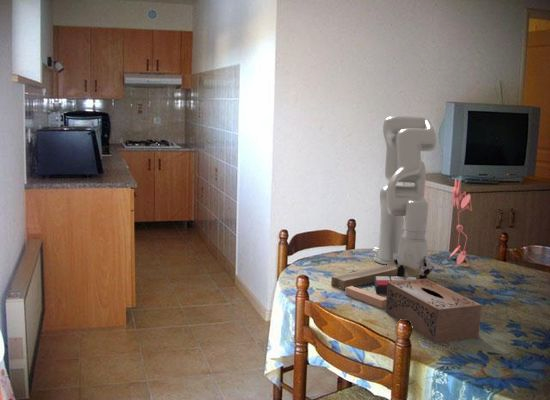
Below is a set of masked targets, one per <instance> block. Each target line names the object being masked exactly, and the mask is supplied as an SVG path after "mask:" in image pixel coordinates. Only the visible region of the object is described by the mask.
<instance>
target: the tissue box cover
mask: <svg viewBox="0 0 550 400" xmlns="http://www.w3.org/2000/svg"><path fill="white" fill-rule="evenodd" d="M385 298H386V307H385V313H386V314H388V315H390V316H391V317H393V318H395V319H396V320H398V321H399V320H400V319H407V320H409V321H411V323H412V326H413V329H412V330H413V331H415V332H416V333H418V334H420V335H422V336H423V337H424V338H426V339H428V340H430V341H431V342H433V343H435V344H436V345H438V344H445V343H451V342H457V341H465V340H466V341H467V340H472V339H478V338H479V337H480V335H479V334H480V327H481V325H480V324H481V315H482V304H480V303H479V302H477V301H475V300H472V299H471V298H468V297H467V296H464V295H462V294H459V293H458V292H456V291H454V290H451V289H449V288H447V287H445V286H444V285H441V284H439V283H436V281H435V282H434V281H432V280H430V279H428V278H427V279H419V278H417V279H416V280H405V281H394V282H387V294H386V297H385Z"/></svg>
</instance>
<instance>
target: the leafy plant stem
mask: <svg viewBox="0 0 550 400" xmlns="http://www.w3.org/2000/svg"><path fill="white" fill-rule="evenodd" d="M461 189H462V184H461V180H460V179H459V180H458V179H457V178H455V180H454V186H453V187H452V190H451V191H452V197H453V200H452V202H451V203H452V204H453V207H454V208H455V207H456V209H457V210H458V212H457V220H458V221H457V222H458V223H457V224H458V225H456V230H457V231H458V240H457V241H458V242H457V247H456V248H455V249H454V250H453V252H452V253H450V255H449V257H448V258H449V259H450V258H452V257H454V256H455V254H456V253H457V252H458V251H459V254H458V256H457V258H456V266H459V265H461V264H462V263H463V262H464V260H465V262H466V263H467V265H468V267H469V266H470V263H469V261H468V258H467V257H466V256H467V252H466V250H465V249H466V245H467V241H468V236H467V234H465V233H464V232H463V230H464V226H463V225H462V224H460V213H461V212H463V211H465V210H467V209H468V210H469V211H470V212H471V213H472V212H473V206H472V199H471V194H470V193H468V194H467V192H466V191H463V192H462V190H461ZM460 201H461V202H460ZM460 203H461V204H460ZM468 204H469V205H468ZM460 208H461V210H459V209H460ZM461 233H462V234H463V235H464V236H465V237H466V239H465V244H464V247H463V250H461V249H460V248H461V245H460V236H461V235H460V234H461ZM433 264H436V262H435V261H433ZM437 265H438V266H441V267H442V265H441V264H438V263H437ZM443 267H444V268H446V266H444V265H443ZM447 268H449V267H448V266H447Z"/></svg>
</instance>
